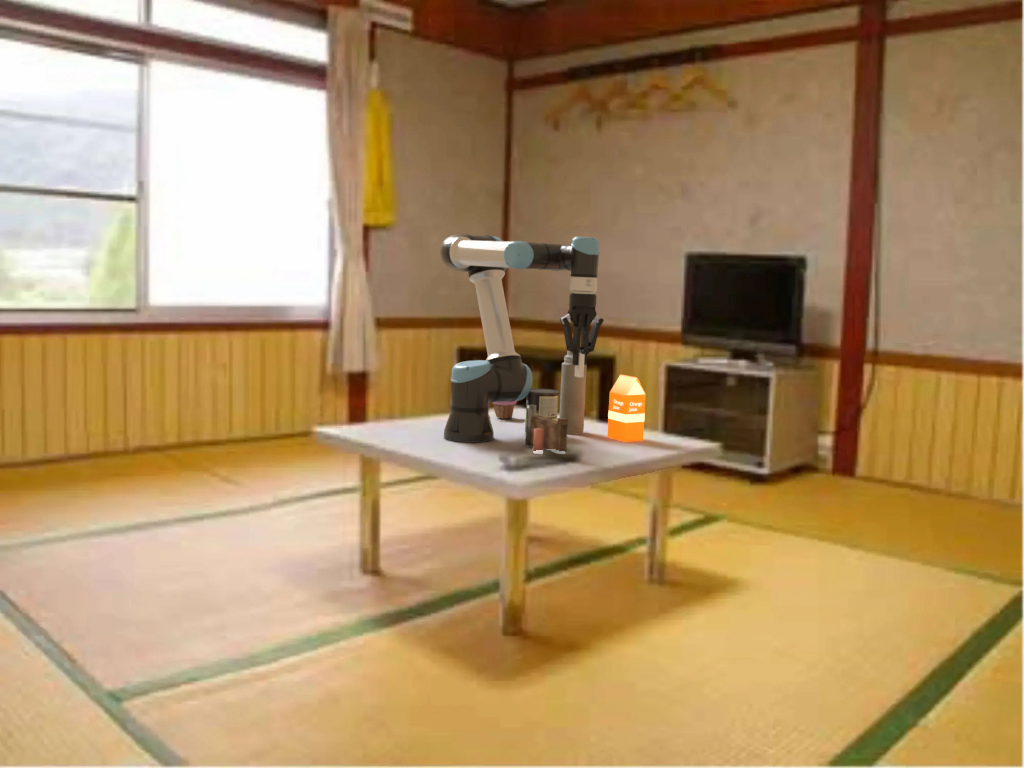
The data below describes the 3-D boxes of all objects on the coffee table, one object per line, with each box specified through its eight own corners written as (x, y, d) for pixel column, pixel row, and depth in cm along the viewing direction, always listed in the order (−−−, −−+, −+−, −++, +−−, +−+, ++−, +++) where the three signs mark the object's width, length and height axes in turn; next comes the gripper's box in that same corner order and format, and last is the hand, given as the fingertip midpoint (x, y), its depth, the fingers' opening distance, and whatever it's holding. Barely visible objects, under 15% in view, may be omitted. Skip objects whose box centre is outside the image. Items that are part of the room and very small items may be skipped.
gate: (529, 443, 276) (531, 409, 275) (536, 443, 277) (537, 409, 276) (559, 455, 260) (560, 419, 259) (566, 454, 261) (567, 419, 260)
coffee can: (521, 435, 294) (523, 391, 293) (528, 430, 304) (530, 387, 303) (553, 438, 292) (555, 393, 291) (559, 433, 302) (561, 389, 300)
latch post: (533, 454, 265) (534, 430, 264) (531, 452, 268) (532, 428, 267) (544, 454, 265) (545, 430, 264) (542, 452, 268) (543, 428, 267)
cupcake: (520, 419, 327) (521, 391, 326) (498, 420, 322) (499, 391, 321) (507, 415, 334) (509, 388, 333) (486, 416, 330) (487, 388, 329)
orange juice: (624, 441, 291) (627, 377, 289) (606, 437, 298) (610, 374, 296) (643, 440, 295) (647, 377, 293) (626, 435, 303) (629, 373, 300)
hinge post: (526, 446, 277) (527, 405, 276) (524, 444, 280) (526, 404, 278) (535, 446, 277) (537, 406, 276) (533, 444, 280) (535, 404, 279)
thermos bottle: (559, 429, 309) (563, 344, 306) (583, 430, 309) (587, 345, 305) (558, 433, 301) (562, 346, 298) (583, 434, 301) (587, 347, 297)
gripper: (568, 292, 256) (564, 378, 259) (610, 294, 262) (605, 378, 264) (556, 291, 263) (552, 375, 266) (597, 293, 268) (593, 375, 271)
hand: (578, 376), depth 265 cm, fingers closed
